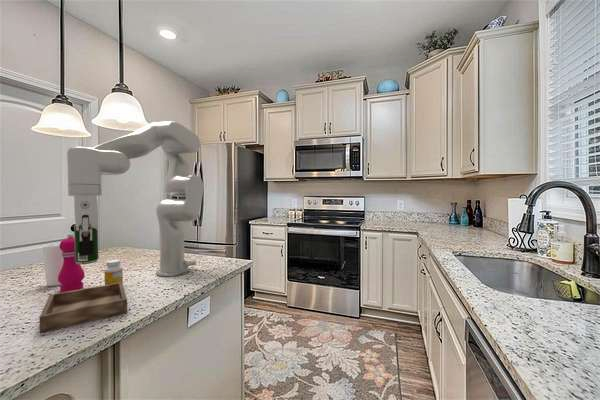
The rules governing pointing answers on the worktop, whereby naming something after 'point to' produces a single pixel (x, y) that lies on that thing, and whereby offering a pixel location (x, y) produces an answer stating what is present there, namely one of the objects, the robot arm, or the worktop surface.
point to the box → (83, 306)
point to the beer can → (78, 259)
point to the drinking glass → (52, 263)
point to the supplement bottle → (113, 272)
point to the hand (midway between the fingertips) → (86, 252)
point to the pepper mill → (70, 267)
